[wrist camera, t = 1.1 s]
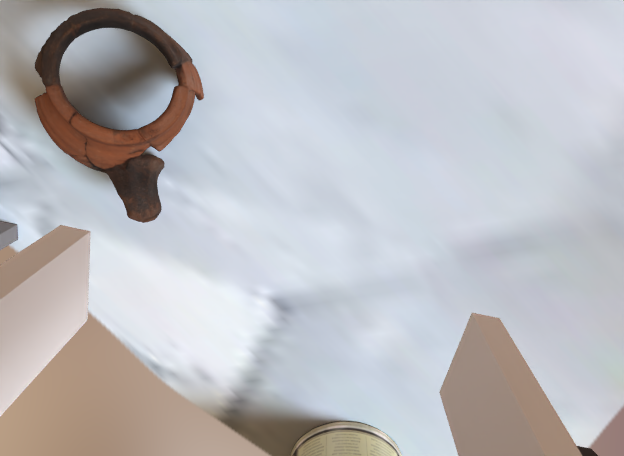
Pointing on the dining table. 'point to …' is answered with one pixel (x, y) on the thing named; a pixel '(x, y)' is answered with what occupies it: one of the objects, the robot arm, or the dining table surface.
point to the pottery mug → (108, 142)
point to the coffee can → (345, 441)
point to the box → (7, 234)
